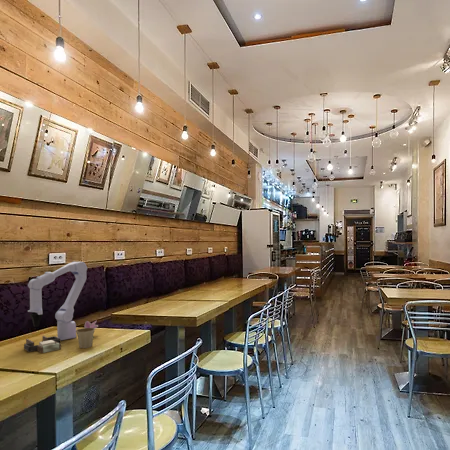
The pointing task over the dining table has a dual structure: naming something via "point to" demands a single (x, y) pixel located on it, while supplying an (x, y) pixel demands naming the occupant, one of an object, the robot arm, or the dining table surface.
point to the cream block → (46, 343)
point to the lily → (90, 325)
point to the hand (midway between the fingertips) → (36, 326)
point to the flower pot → (85, 337)
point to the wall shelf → (30, 346)
